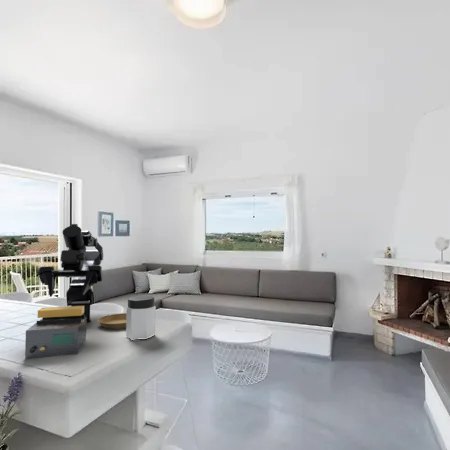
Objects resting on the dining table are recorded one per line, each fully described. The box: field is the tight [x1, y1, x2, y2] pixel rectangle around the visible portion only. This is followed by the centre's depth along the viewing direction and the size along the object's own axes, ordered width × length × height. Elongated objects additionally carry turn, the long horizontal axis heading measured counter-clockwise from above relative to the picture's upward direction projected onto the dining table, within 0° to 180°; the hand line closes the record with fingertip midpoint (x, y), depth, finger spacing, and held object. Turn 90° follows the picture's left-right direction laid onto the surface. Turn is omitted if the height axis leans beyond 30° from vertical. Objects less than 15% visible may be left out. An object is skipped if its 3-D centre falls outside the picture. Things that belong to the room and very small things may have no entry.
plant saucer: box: [97, 312, 127, 330], centre depth 113 cm, size 15×15×3 cm
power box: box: [24, 314, 87, 359], centre depth 88 cm, size 13×12×8 cm
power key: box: [37, 306, 84, 319], centre depth 91 cm, size 4×11×2 cm, turn 104°
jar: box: [125, 295, 157, 340], centre depth 99 cm, size 9×8×12 cm
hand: (66, 295), depth 98 cm, fingers open, 9 cm apart
